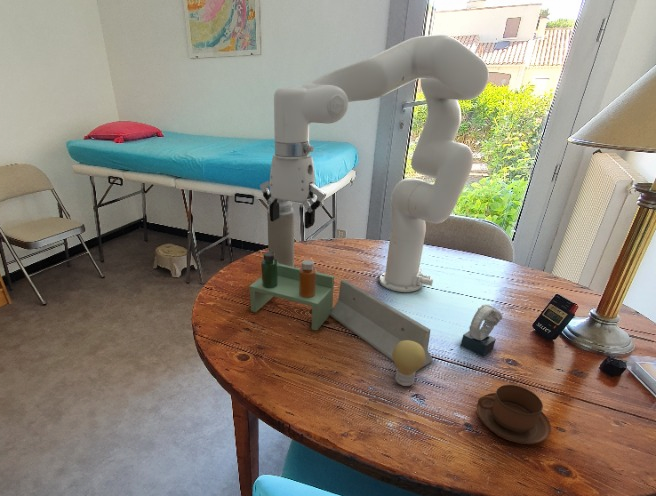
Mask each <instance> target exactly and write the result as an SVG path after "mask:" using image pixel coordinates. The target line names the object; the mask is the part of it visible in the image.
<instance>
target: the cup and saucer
mask: <svg viewBox="0 0 656 496" xmlns="http://www.w3.org/2000/svg"><path fill="white" fill-rule="evenodd" d="M543 404H544V403H543V402H542V400H541V398H540V397H539V396H538V395H537V394H536V393H534V392H533V391H531V390H530V389H528V388H525V387H523V386H520V385H516V384H504V385H500V386H499V387H498V388H496V390H495V392H491V393H487V394H485V395H481V397H479V398H478V400H477V404H476V412H477V416H478V417H479V419H480V421H481V422H482V424H483V425H484V426H485V427H486V428H487V429H489V430H490V431H491V432H493V433H494V434H495V435H497V436H498V437H501V438H503V439H504V440H507V441H510V442H513V443H516V444H522V445H535V444H539V443H542V442H545V441H546V440H547V439H548V438H549V436H550V435H551V432H552V425H551V422H550V420H549V418H548V417H547V415H546V414H545V413H544V412H543V408H544V405H543Z"/></svg>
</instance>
